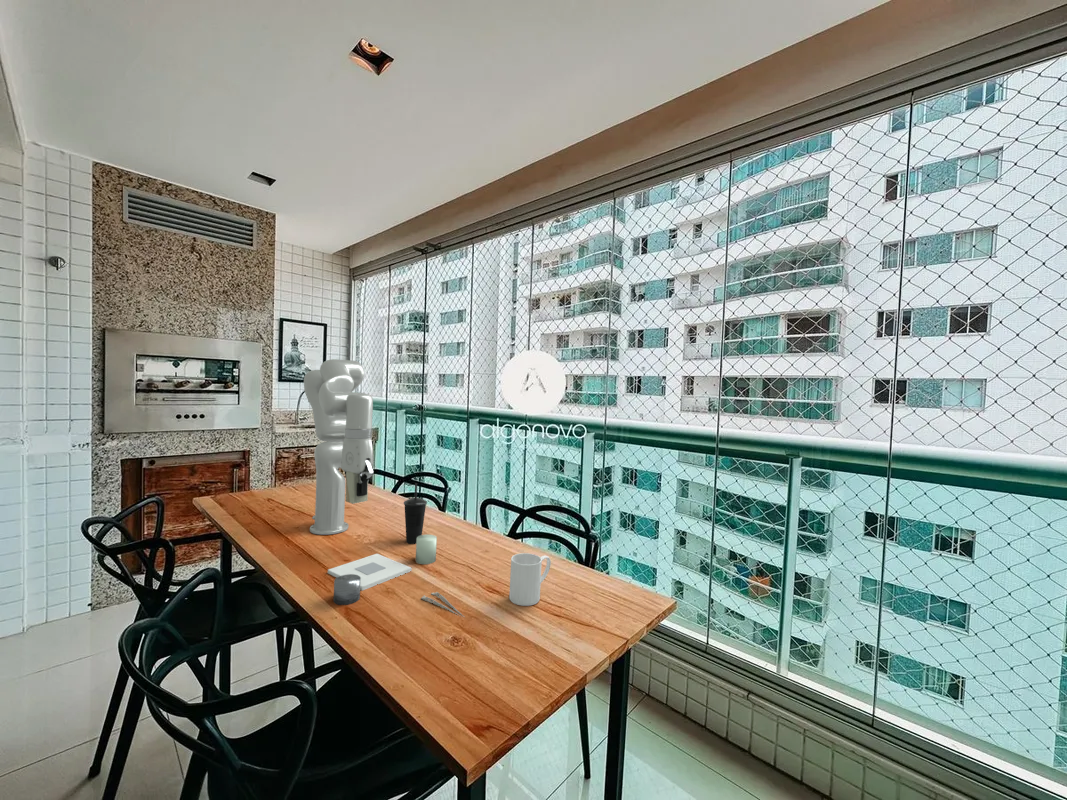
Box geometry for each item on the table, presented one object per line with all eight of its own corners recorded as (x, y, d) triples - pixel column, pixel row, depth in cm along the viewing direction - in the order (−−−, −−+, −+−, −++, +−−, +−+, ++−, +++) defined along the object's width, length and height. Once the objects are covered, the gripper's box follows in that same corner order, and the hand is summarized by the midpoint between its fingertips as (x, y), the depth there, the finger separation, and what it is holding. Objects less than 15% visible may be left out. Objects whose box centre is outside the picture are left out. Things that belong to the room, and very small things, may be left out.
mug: (522, 609, 110) (524, 567, 109) (503, 597, 116) (505, 557, 115) (558, 596, 118) (560, 557, 117) (538, 585, 124) (540, 547, 123)
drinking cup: (428, 538, 155) (430, 481, 154) (420, 546, 148) (423, 486, 147) (407, 536, 156) (409, 480, 155) (398, 544, 148) (400, 485, 148)
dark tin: (328, 599, 110) (329, 579, 110) (350, 591, 115) (351, 572, 115) (342, 607, 106) (343, 587, 106) (364, 598, 111) (365, 579, 111)
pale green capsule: (411, 560, 136) (412, 538, 136) (426, 555, 141) (427, 533, 141) (424, 566, 132) (425, 542, 132) (439, 560, 137) (440, 537, 137)
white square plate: (327, 573, 124) (327, 569, 124) (377, 556, 137) (377, 553, 137) (362, 590, 115) (362, 586, 115) (411, 571, 128) (411, 567, 128)
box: (360, 498, 139) (361, 463, 139) (368, 501, 137) (369, 465, 136) (344, 501, 135) (345, 465, 135) (351, 504, 132) (353, 467, 132)
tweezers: (419, 600, 113) (420, 593, 112) (434, 595, 116) (435, 587, 116) (463, 633, 101) (464, 625, 101) (479, 626, 105) (480, 618, 105)
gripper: (331, 432, 137) (329, 491, 138) (364, 437, 127) (362, 501, 128) (353, 431, 143) (351, 487, 144) (386, 436, 134) (384, 496, 134)
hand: (356, 493), depth 136 cm, fingers closed on box, 4 cm apart
